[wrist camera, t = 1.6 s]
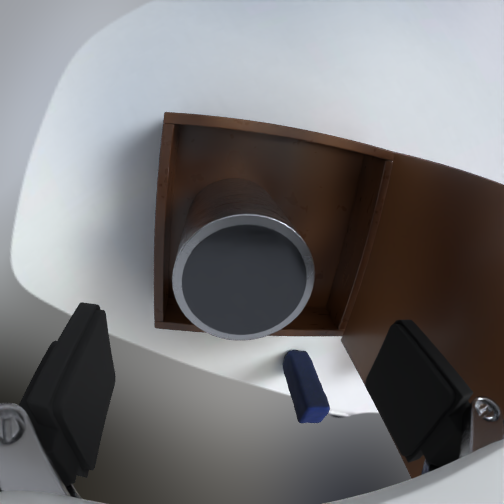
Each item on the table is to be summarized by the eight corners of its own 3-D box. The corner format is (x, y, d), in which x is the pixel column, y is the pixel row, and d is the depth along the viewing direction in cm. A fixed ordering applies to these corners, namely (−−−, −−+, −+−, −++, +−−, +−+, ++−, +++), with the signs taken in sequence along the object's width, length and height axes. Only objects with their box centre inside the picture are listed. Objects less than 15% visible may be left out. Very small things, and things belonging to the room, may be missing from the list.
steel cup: (191, 173, 18) (175, 207, 11) (285, 184, 19) (330, 224, 12) (183, 261, 21) (171, 337, 13) (270, 268, 22) (298, 343, 14)
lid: (426, 512, 8) (492, 475, 9) (622, 244, 3) (633, 258, 4) (340, 340, 21) (399, 337, 22) (394, 151, 16) (455, 172, 17)
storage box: (161, 299, 22) (154, 328, 19) (173, 114, 17) (164, 111, 14) (327, 309, 24) (342, 336, 21) (368, 146, 19) (395, 152, 16)
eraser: (288, 348, 26) (307, 408, 19) (310, 350, 26) (333, 409, 20) (279, 365, 26) (295, 425, 20) (301, 367, 27) (321, 425, 21)
